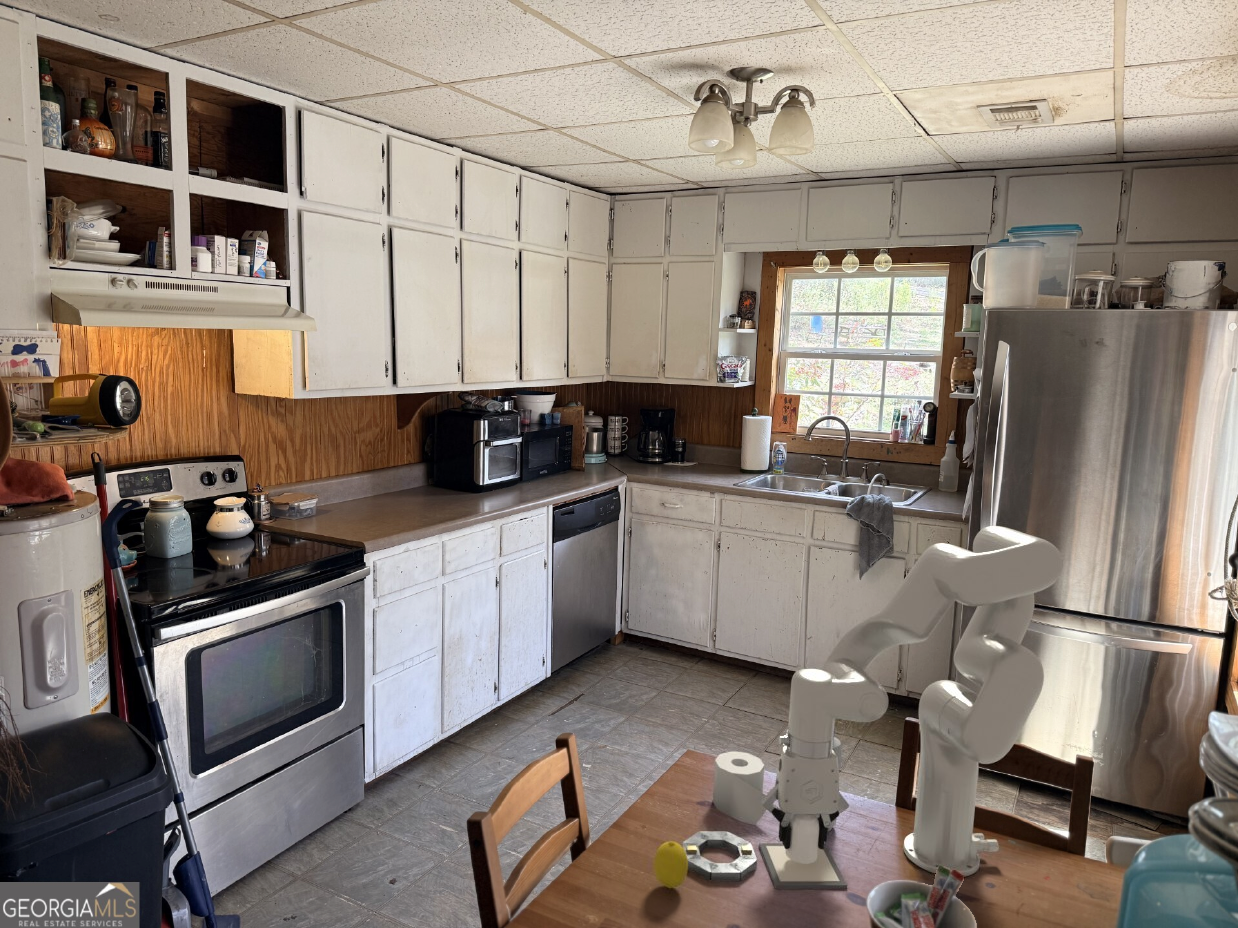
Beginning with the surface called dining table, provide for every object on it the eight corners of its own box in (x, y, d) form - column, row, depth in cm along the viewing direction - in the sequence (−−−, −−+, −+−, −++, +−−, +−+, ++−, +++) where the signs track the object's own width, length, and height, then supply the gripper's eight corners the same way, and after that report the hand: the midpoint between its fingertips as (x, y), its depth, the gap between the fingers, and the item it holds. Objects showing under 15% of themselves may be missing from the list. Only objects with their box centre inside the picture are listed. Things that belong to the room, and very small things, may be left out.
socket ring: (746, 839, 149) (746, 828, 148) (761, 881, 137) (762, 868, 136) (679, 839, 148) (679, 827, 148) (688, 881, 136) (689, 868, 136)
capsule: (794, 865, 138) (797, 820, 137) (780, 847, 143) (783, 803, 142) (822, 861, 139) (826, 817, 138) (808, 843, 144) (811, 800, 143)
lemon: (676, 902, 130) (679, 855, 129) (646, 889, 133) (648, 843, 132) (692, 884, 135) (694, 839, 134) (663, 873, 138) (665, 828, 137)
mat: (824, 846, 147) (825, 842, 147) (847, 888, 136) (847, 884, 135) (759, 846, 147) (759, 842, 147) (775, 888, 135) (775, 884, 135)
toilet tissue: (759, 830, 152) (762, 786, 151) (703, 802, 161) (705, 760, 160) (787, 813, 158) (789, 771, 157) (731, 787, 167) (733, 747, 167)
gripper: (765, 753, 134) (757, 857, 136) (867, 754, 135) (858, 857, 137) (754, 732, 142) (748, 831, 144) (851, 734, 143) (843, 832, 145)
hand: (802, 843), depth 141 cm, fingers closed on capsule, 5 cm apart
